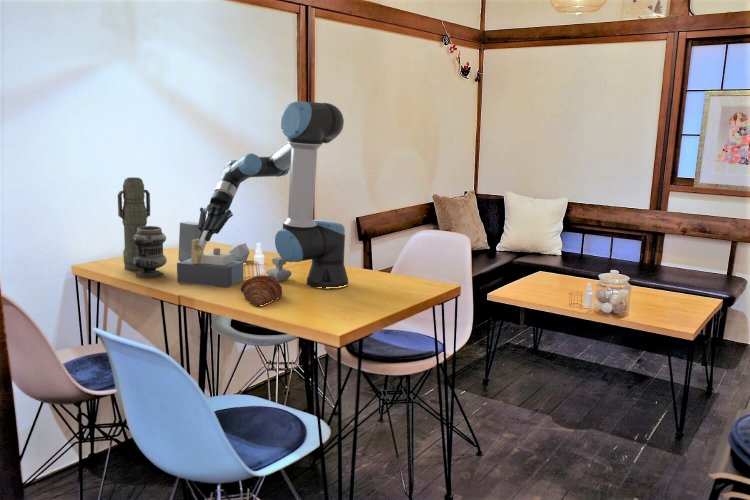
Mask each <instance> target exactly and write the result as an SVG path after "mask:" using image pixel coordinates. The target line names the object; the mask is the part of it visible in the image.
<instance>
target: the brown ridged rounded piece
mask: <svg viewBox="0 0 750 500" xmlns="http://www.w3.org/2000/svg"><path fill="white" fill-rule="evenodd" d="M240 292H241V293H242V294H243V296H244V298H245V300H246V301H247V300H248V301H247V302H249V301H250V302H249V304H250V305H252V304H253V305H252V306H254V305H257V306H256V307H258V306H260V305H264V304H266V303H269V302H271V301H272V300H275V299H277V298H279V299H280V298H281V297H282V296H283V288H282V286H281V284H280V283H279V281H277V280H276V279H275V278H273V277H271V276H268V275H267V274H266V275H256V276H254V277H253V276H252V277H250V278H248V279H246V280H245V281H243V283H242V284H241V286H240ZM271 303H272V302H271ZM269 304H270V303H269ZM264 306H265V305H264Z"/></svg>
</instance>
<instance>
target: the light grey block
mask: <svg viewBox="0 0 750 500" xmlns="http://www.w3.org/2000/svg"><path fill="white" fill-rule="evenodd" d="M212 250H213V251H207V252H206V253H203V254H202V255H201V263H205V264H215V265H225V264H228V263H231V262H233V254H232V253H229V252H221V248H219V247H215V248H213V249H212Z"/></svg>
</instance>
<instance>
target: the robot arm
mask: <svg viewBox="0 0 750 500" xmlns="http://www.w3.org/2000/svg"><path fill="white" fill-rule="evenodd" d="M344 120H345V119H344V115H343V113H342V111H341V110H340V109H339V107H337V106H336V105H334V104H332V103H329V102H313V101H294V102H291V103H289V104H288V105H287V106H286V107H285V108H284V110H283V111H282V115H281V118H280V128H281V130H282V133H283V135H285V137H286V138H287V143H286V144H285V145H283V146H282V147H281V148H279V150H277V151H276V152H275V153H273V154H271V155H270V156H259V155H257V154H255V153H253V152H252V153H247V154H246V155H243V156H242V157H240V158H239V159H238V160H236V159H234V160H232V159H231V160H229V161H228V162H227V163H226V165H225V166H224V167H223V168H224V169H223V172H222V174H221V175H220V178H219V181H217V184H216V186H215V189H214V191H213V193H212V195H211V198H210V200H209V204H207V206H206V207H199V211H200V214H199V219H198V223H199V224H198V229H199V230H200V232H201V234H200V236H199V239H200V240H199V242H198V245H197V246H198V247H199V249H201V250H205V248H206V245H207V243H208V242H210V241H211V239H212V236H213V235H214V234H216V235H218V234H219V233H220V232H221V231H222V229H223V228H224V227H225V225H226V224H227V222H228V221H229V220H230V219H231V218H232V217H233V216H234V214H233V212H232V211H231V209H230V207H231V206H232V203H233V200H234V198H235V196H236V193H237V192H238V189H239V187H240V184H241V183H243V182H245V181H246V180H247V179H249V178H263V177H266V178H267V177H277V178H278V177H283V176H286V175H288V174H289V189H288V190H289V193H288V205H287V208H288V209H287V217H286V218H285V219H284V220H283V222H282V228H281V229H279V230H278V231H277V233H276V234H275V237H274V244H275V245H274V246H275V249H276V251H277V254H278V255H279V257H281V258H282V259H283V260H285V261H287V262H286V263H301V262H304V261H310V260H311V265H310V268H309V272H308V275H307V276H306V286H308V285H309V286H308V287H310V286H311V287H310V288H313V287H322V288H326V287H339V286H344V285H347V284H348V285H349V277H348V274H347V269H346V266H345V247H346V246H345V245H346V244H345V240H346V238H345V237H346V234H345V231H346V229H345V227H344V225H343V224H342V223H340V222H339V223H338V222H333V221H324V220H314V208H315V207H314V206H315V205H314V204H315V191H316V189H315V188H316V174H317V173H316V171H317V159H318V158H317V157H318V149H319V148H320V147H322V145H323V144H328V143H330V142H332V141H334V140H335V139H336V138H337V137H338V136H339V135H340V134H341V133H342V131H343V128H344V125H345V121H344ZM289 172H290V173H289Z"/></svg>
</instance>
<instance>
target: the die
mask: <svg viewBox="0 0 750 500" xmlns="http://www.w3.org/2000/svg"><path fill="white" fill-rule="evenodd" d="M228 253H232V254H233V261H241V262H242V261H246V262H247V260H248V257H249V255H250V250H249V247H248V245H247V243H246V242H232V244H231V247H230V249H229V251H228Z"/></svg>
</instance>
